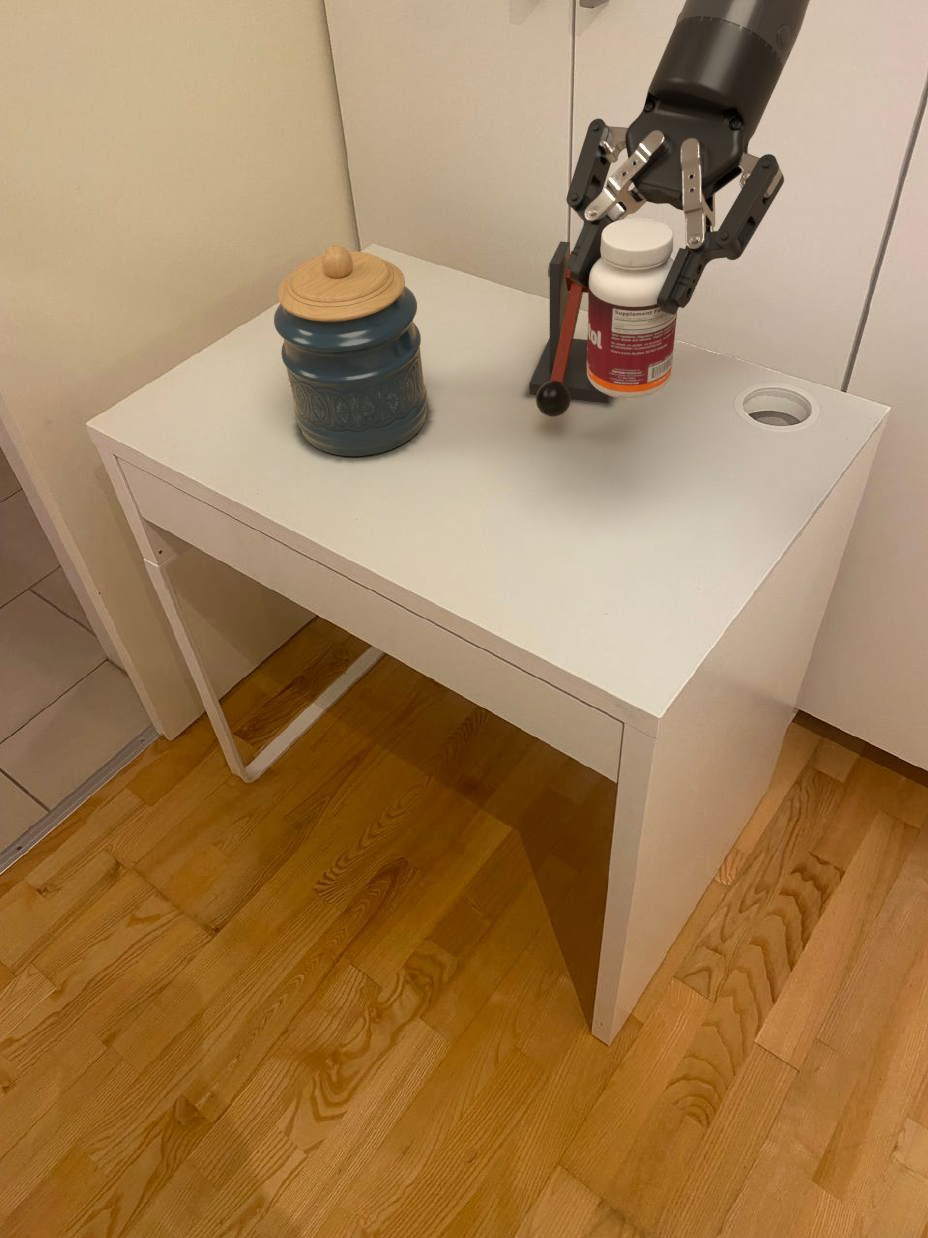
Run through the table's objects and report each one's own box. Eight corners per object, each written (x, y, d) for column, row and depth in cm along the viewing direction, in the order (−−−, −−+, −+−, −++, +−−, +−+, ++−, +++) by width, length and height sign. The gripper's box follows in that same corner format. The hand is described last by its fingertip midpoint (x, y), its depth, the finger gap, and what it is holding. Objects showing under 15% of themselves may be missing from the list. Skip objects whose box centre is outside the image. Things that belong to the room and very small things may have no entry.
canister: (383, 368, 101) (359, 201, 88) (455, 422, 93) (440, 248, 80) (275, 416, 96) (233, 246, 83) (341, 477, 89) (306, 301, 76)
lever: (568, 424, 88) (565, 409, 85) (535, 420, 89) (530, 405, 86) (601, 269, 91) (599, 249, 88) (568, 267, 92) (565, 247, 89)
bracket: (608, 403, 94) (615, 280, 85) (529, 394, 96) (527, 273, 87) (624, 354, 100) (632, 234, 90) (550, 346, 102) (550, 228, 92)
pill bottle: (586, 354, 73) (590, 211, 65) (669, 354, 72) (683, 210, 64) (584, 401, 69) (588, 255, 61) (671, 402, 68) (687, 254, 60)
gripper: (844, 96, 62) (730, 344, 64) (650, 62, 68) (555, 288, 71) (826, 27, 55) (700, 306, 58) (613, -3, 62) (510, 248, 64)
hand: (620, 295), depth 64 cm, fingers closed on pill bottle, 6 cm apart
